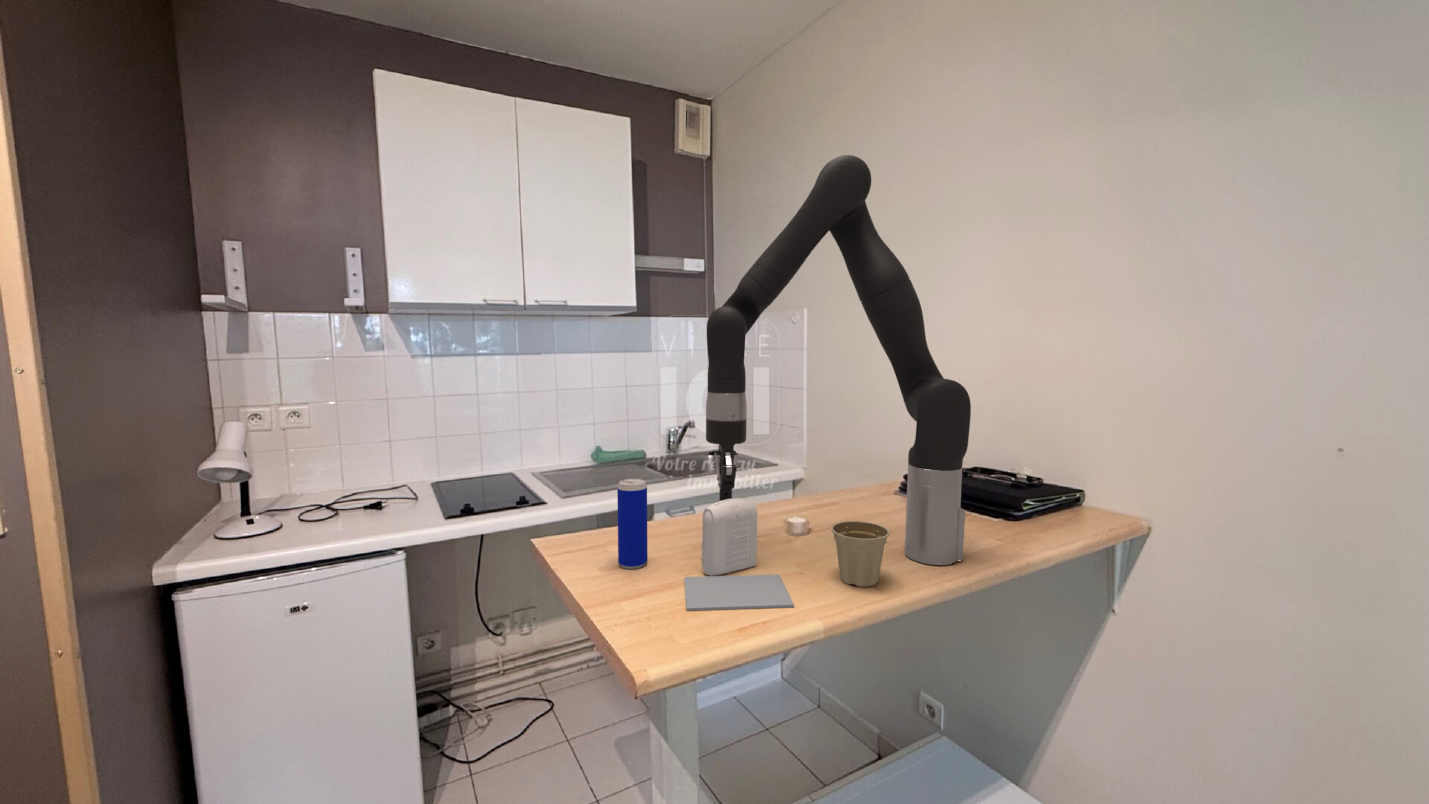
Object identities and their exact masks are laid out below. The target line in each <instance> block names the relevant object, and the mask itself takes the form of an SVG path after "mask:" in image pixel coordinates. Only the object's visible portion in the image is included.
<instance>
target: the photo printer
mask: <svg viewBox="0 0 1429 804" xmlns="http://www.w3.org/2000/svg"><path fill="white" fill-rule="evenodd" d="M701 536H702V538H701V540H702V541H701V542H702V543H701V545H702V546H701V567H702V572H703V573H704V574H705V575H707V576H722V575H724V574H728V573H733V572H736V571H740V570H744V569H748V568H752V567H754V566H756V564H757V554H758V553H757V545H758V542H757V541H758V507H757V506H756V504H755V502H754V501H752V500H750V499H747V498H741V497H739V498H738V497H735V498H733V497H732V499H726V500H722V501H717V502H715V503H712V504H710V505H709V506H707V507H706V508H705V509H703V512H702V535H701Z"/></svg>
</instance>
